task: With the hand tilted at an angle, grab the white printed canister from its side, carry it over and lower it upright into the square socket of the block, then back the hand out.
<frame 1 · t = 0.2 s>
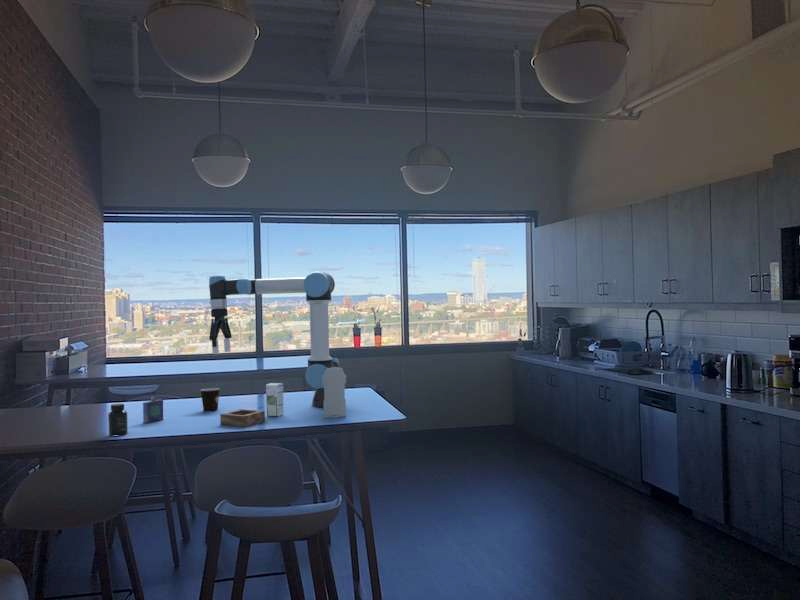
hand: (221, 352, 299), 27 cm above the table, tool pointing down, fingers open, 13 cm apart
tall pale column: (334, 417, 277), on the table
supplement bottle: (118, 435, 250), on the table
white printed canister: (275, 416, 283), on the table
socket block: (242, 423, 267), on the table
flask: (153, 421, 275), on the table
coffee mug: (213, 410, 300), on the table
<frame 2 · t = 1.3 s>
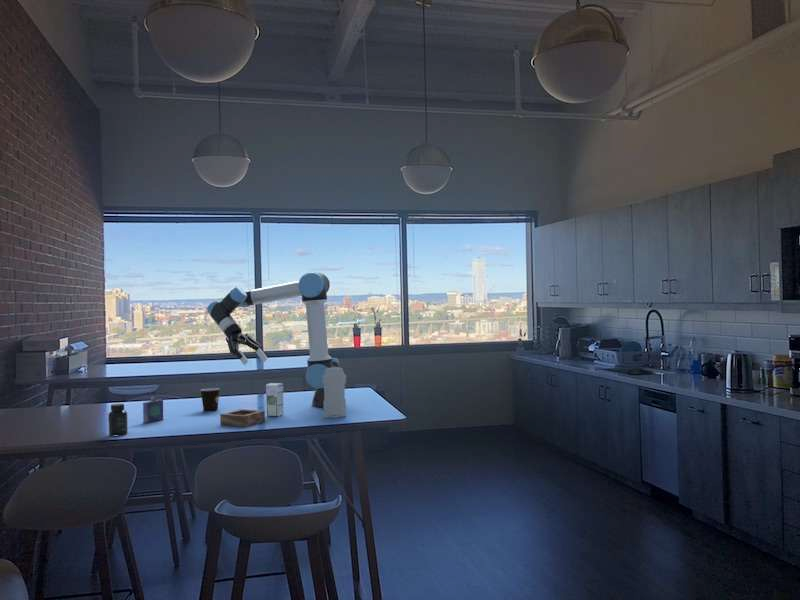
hand: (256, 361, 289), 24 cm above the table, tool tilted 45°, fingers open, 13 cm apart
nothing on the table moved.
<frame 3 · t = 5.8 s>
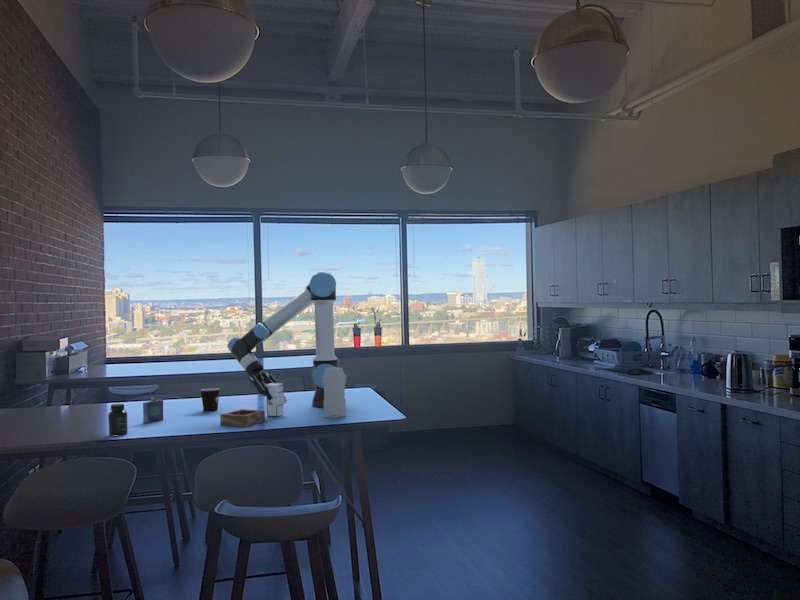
hand: (281, 402, 281), 6 cm above the table, tool tilted 45°, fingers closed on white printed canister, 6 cm apart
white printed canister: (275, 416, 283), on the table, touching gripper
everything else where it was.
when the fingers open (8 cm above the table, at t = 10.8 s): white printed canister drops 1 cm, resting on socket block.
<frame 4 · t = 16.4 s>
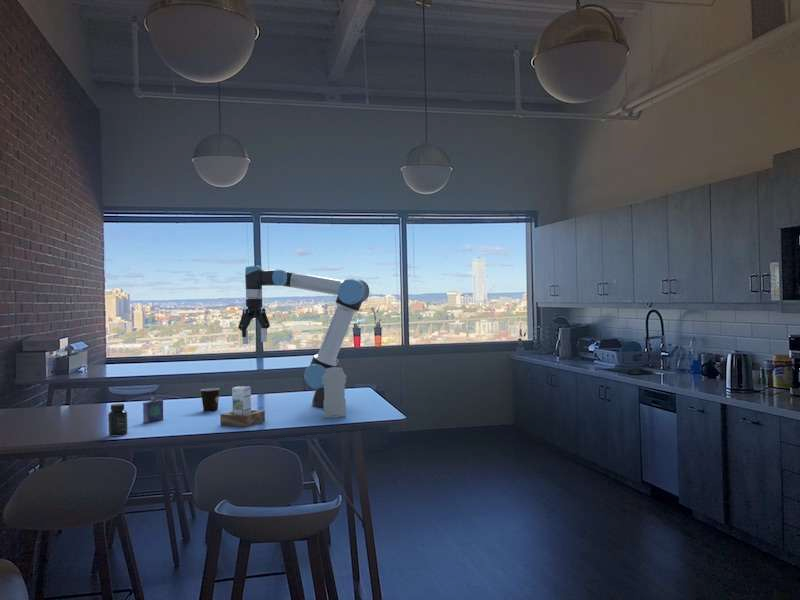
hand: (254, 343, 299), 32 cm above the table, tool pointing down, fingers open, 13 cm apart
white printed canister: (242, 421, 267), point 1 cm above the table, touching socket block
everything else where it was.
at the end: white printed canister 0.4 cm off-centre on the socket block, point 0.8 cm above the socket block's base; white printed canister tilted 0°; the gripper is holding nothing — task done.
